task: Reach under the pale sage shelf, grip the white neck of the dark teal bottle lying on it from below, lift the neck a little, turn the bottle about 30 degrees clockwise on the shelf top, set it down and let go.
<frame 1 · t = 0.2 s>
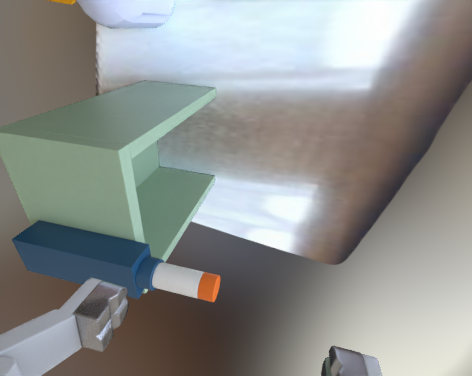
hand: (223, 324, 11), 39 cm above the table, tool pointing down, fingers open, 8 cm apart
stand: (182, 134, 50), on the table
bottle: (33, 244, 29), point 29 cm above the table, touching stand
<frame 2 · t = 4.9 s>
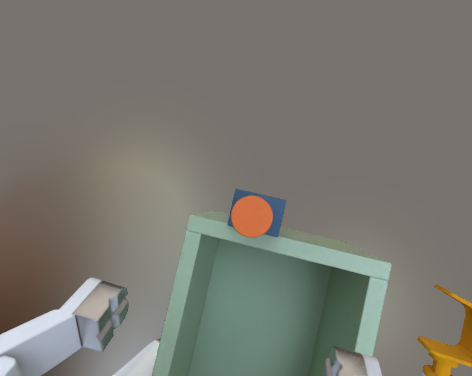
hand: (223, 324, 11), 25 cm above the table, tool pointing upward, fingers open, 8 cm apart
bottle: (260, 210, 36), point 29 cm above the table, touching stand
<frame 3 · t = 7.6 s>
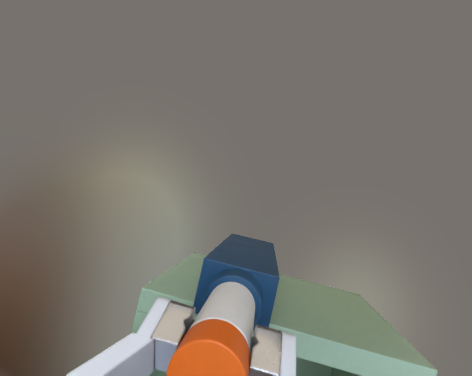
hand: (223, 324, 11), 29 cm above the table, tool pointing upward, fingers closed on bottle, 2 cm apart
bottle: (249, 253, 28), point 29 cm above the table, touching gripper, stand
when the fingers open (29 cm above the table, at t = 12.0 s): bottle stays where it is, resting on stand.
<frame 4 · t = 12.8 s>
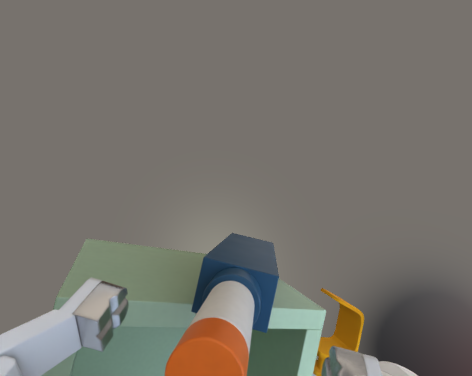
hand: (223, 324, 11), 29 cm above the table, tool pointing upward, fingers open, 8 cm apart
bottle: (249, 252, 28), point 29 cm above the table, touching stand
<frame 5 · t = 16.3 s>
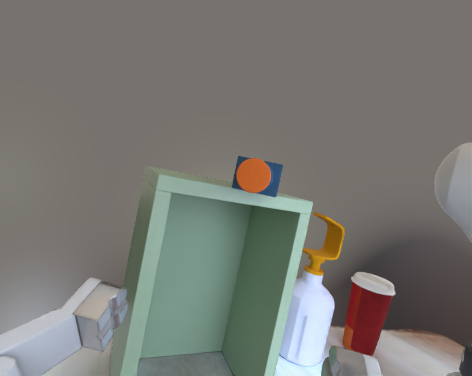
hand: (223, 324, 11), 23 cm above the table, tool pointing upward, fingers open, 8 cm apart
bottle: (260, 177, 39), point 29 cm above the table, touching stand
paper cup: (356, 348, 53), on the table
soap bottle: (295, 350, 48), on the table
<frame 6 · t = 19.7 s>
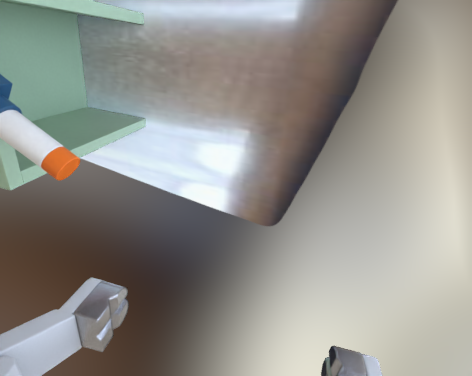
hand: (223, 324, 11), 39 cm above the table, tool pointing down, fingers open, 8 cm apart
stand: (110, 68, 47), on the table
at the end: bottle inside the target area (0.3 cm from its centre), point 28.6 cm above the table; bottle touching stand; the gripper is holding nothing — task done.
